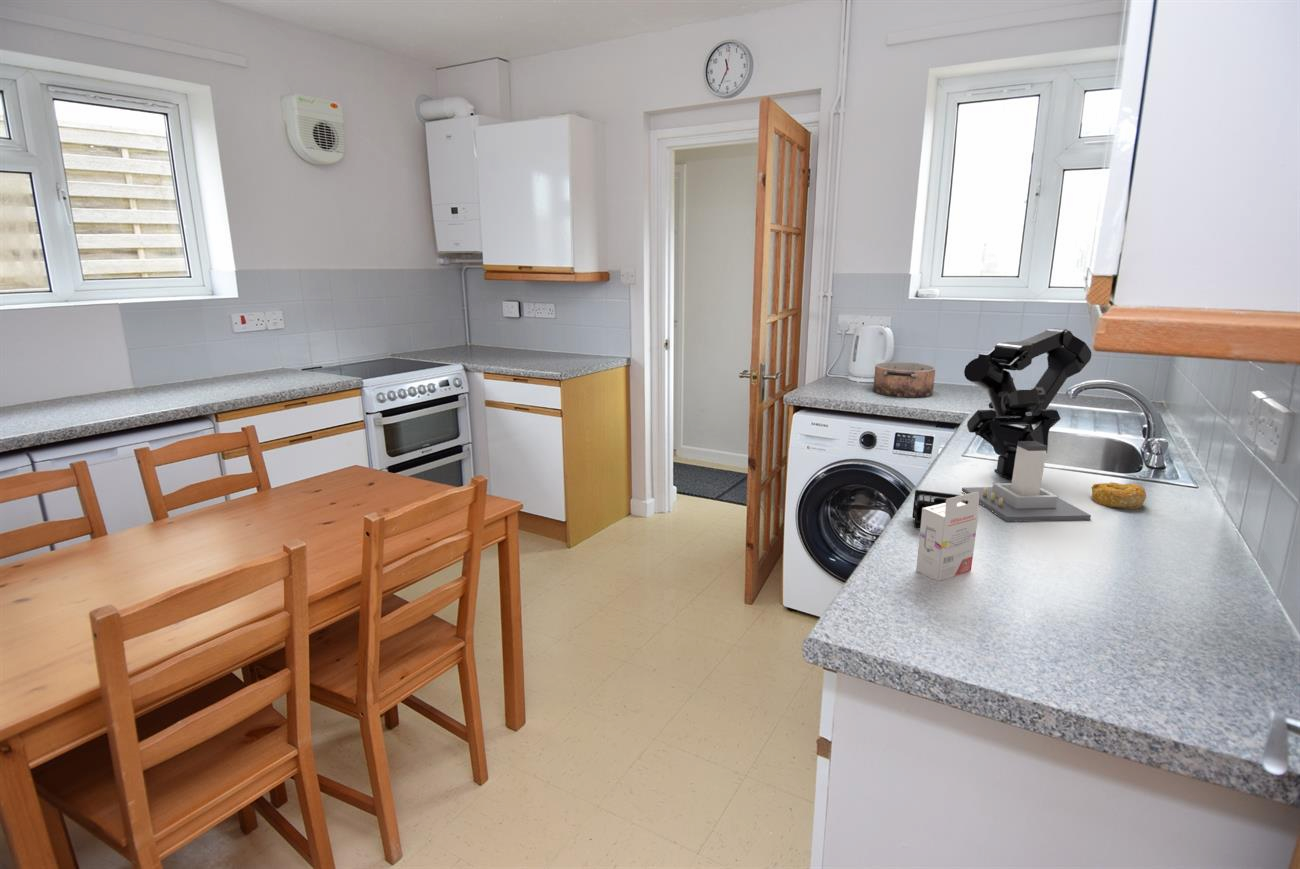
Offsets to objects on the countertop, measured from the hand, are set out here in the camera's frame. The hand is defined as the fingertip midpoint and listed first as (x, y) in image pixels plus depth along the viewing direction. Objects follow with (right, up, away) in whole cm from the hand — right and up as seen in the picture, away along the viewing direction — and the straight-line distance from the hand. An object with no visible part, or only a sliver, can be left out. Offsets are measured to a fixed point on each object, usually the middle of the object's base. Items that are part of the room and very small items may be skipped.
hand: (1025, 454), depth 146 cm
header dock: (0, -11, +1) cm, 11 cm away
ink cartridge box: (-31, -20, -30) cm, 47 cm away
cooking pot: (+19, +21, +122) cm, 125 cm away
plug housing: (0, -10, +1) cm, 10 cm away
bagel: (+22, -11, +3) cm, 25 cm away
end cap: (-23, -14, -10) cm, 29 cm away
